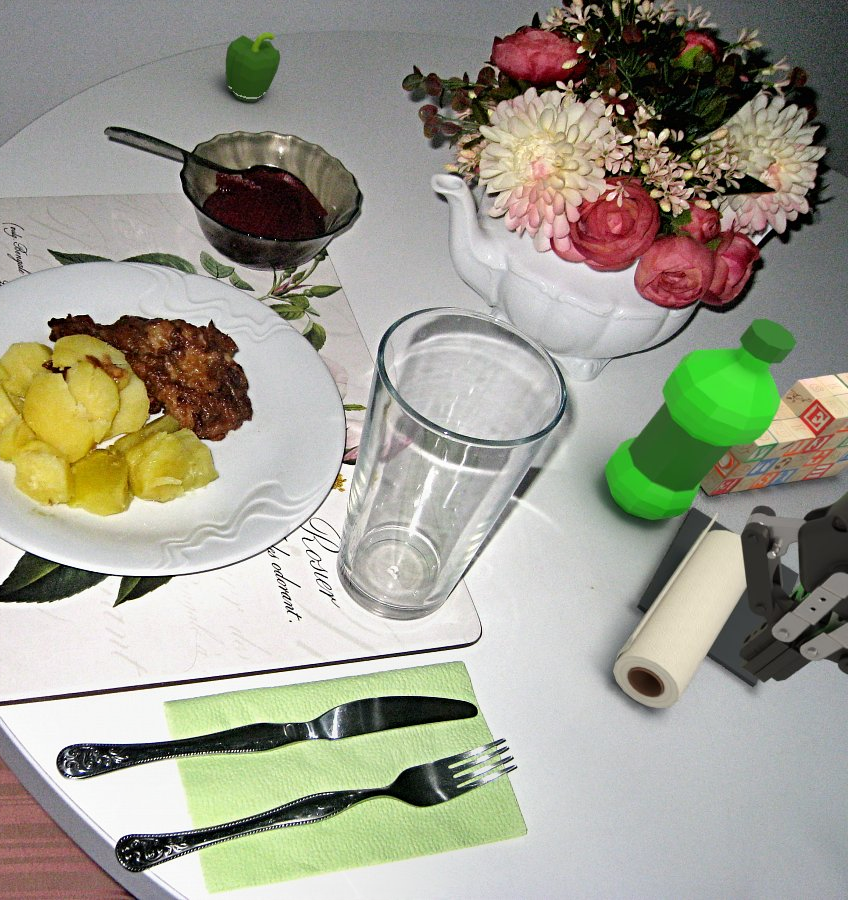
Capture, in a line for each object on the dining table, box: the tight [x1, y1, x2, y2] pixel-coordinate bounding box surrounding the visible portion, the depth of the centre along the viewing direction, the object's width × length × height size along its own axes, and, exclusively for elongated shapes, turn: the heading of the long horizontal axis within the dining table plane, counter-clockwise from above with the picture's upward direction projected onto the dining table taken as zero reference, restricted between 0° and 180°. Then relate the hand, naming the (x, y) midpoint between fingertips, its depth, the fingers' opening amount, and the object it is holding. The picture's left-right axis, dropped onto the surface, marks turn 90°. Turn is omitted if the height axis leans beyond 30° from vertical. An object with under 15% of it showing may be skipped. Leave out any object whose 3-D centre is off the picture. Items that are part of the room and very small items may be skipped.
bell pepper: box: [225, 32, 281, 103], centre depth 140 cm, size 8×8×10 cm
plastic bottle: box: [604, 318, 798, 521], centre depth 92 cm, size 10×10×25 cm
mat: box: [637, 506, 799, 688], centre depth 94 cm, size 13×18×1 cm
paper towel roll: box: [612, 512, 747, 709], centre depth 87 cm, size 7×6×21 cm
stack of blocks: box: [700, 372, 848, 497], centre depth 104 cm, size 21×6×12 cm, turn 108°
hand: (755, 665), depth 54 cm, fingers closed
